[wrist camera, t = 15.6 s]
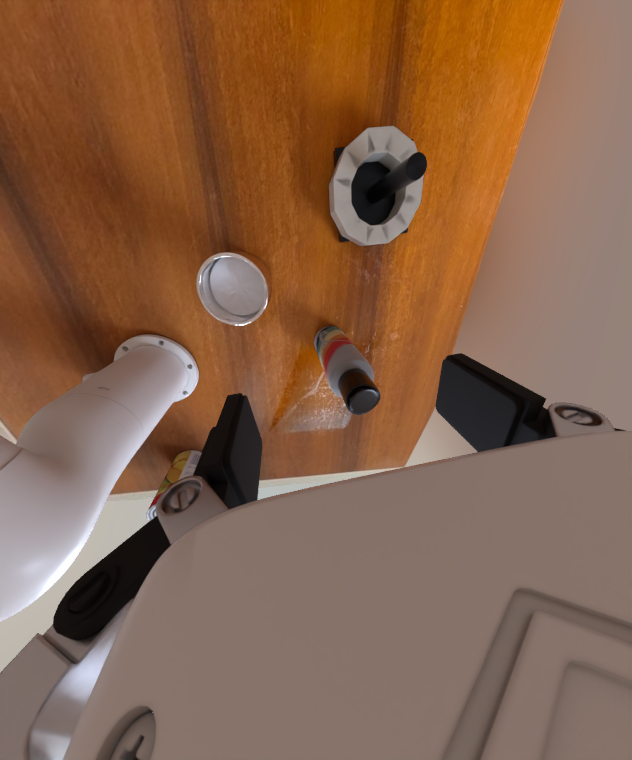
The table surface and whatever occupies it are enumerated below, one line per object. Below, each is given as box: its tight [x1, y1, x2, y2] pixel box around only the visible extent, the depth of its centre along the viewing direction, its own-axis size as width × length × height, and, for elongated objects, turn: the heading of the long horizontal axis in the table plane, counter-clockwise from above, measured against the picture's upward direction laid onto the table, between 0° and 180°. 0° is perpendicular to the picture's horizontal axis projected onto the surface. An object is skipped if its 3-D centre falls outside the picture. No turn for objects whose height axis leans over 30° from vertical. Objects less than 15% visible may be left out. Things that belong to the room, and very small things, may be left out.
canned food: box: [147, 450, 202, 521], centre depth 46 cm, size 8×8×12 cm
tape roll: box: [329, 126, 424, 246], centre depth 30 cm, size 11×11×3 cm
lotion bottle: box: [314, 326, 380, 415], centre depth 33 cm, size 6×6×20 cm
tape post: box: [334, 139, 427, 242], centre depth 27 cm, size 10×10×12 cm
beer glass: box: [196, 250, 272, 325], centre depth 28 cm, size 7×7×15 cm
